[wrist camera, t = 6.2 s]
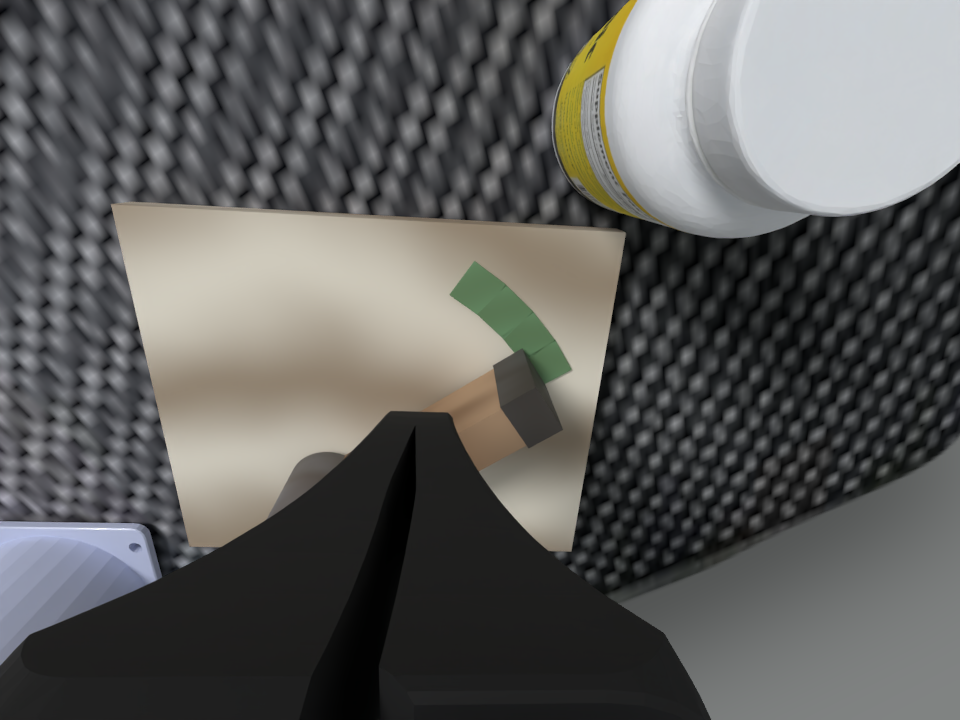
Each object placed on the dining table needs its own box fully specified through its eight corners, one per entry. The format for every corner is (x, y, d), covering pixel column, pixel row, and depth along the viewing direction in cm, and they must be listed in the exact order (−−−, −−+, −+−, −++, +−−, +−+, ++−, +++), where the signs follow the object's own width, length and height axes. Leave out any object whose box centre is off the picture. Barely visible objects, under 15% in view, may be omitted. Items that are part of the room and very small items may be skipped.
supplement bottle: (707, -8, 14) (1177, -327, 5) (723, 182, 16) (1073, 209, 7) (528, 52, 14) (651, -138, 5) (566, 230, 16) (703, 315, 7)
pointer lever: (324, 526, 19) (298, 598, 16) (274, 474, 18) (234, 541, 15) (554, 398, 17) (575, 451, 14) (513, 333, 16) (526, 375, 13)
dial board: (566, 534, 21) (571, 553, 20) (201, 529, 20) (188, 548, 19) (616, 228, 16) (627, 233, 15) (131, 202, 15) (109, 204, 14)
